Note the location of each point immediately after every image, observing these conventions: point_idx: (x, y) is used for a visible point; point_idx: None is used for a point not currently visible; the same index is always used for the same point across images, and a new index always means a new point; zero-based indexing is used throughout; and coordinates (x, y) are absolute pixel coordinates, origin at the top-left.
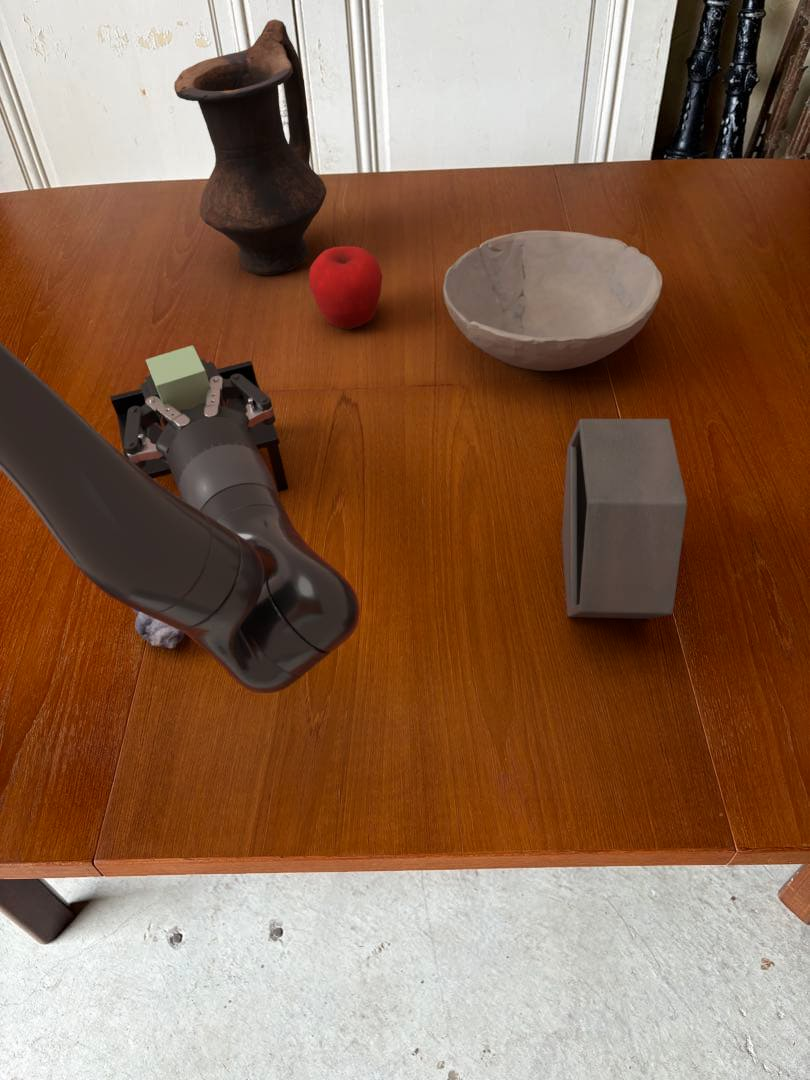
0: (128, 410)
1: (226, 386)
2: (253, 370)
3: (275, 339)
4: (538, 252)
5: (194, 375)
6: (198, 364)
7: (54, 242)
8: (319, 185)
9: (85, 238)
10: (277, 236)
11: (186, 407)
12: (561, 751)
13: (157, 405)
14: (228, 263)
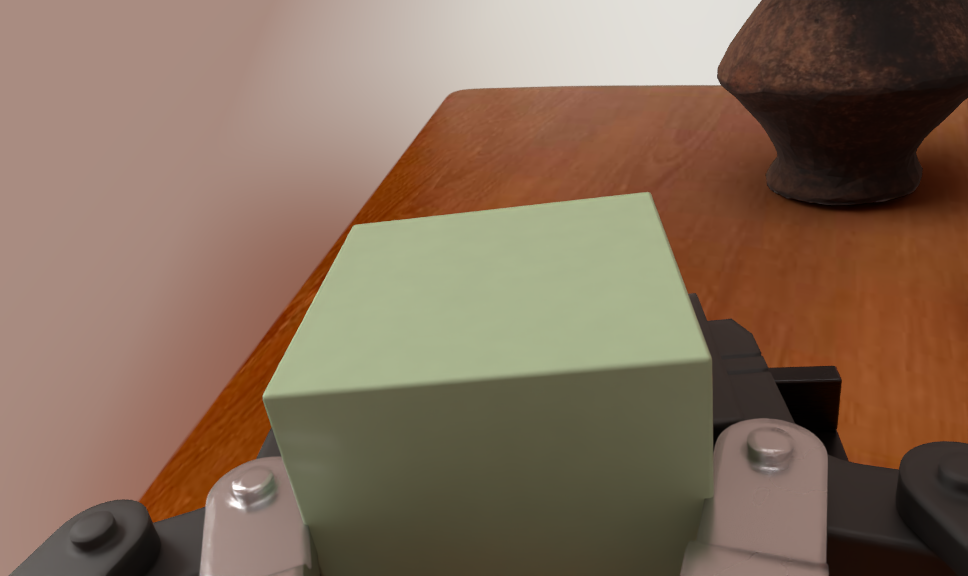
0: (67, 524)
1: (853, 532)
2: (838, 402)
3: (844, 330)
4: None
5: (602, 381)
6: (660, 300)
7: (476, 136)
8: None
9: (520, 135)
10: (881, 119)
11: None
12: None
13: (251, 551)
14: (744, 182)
